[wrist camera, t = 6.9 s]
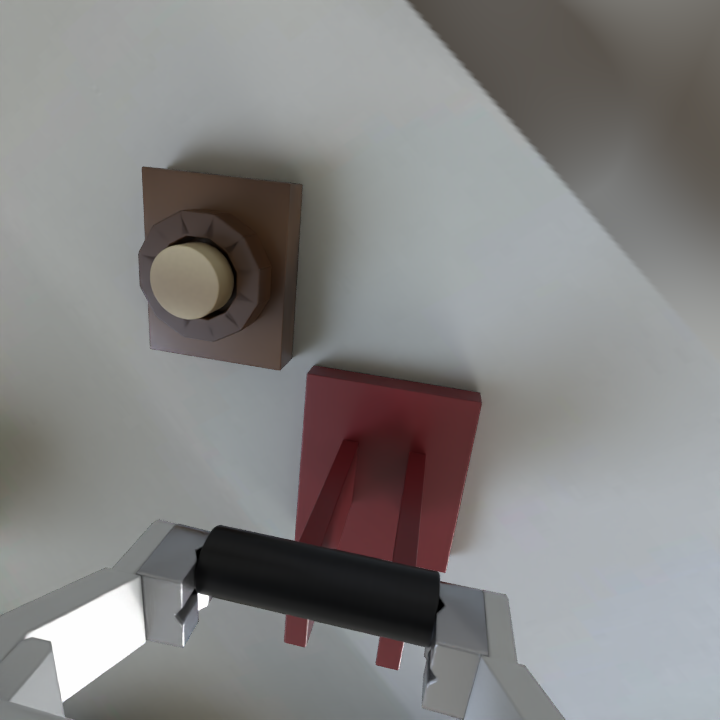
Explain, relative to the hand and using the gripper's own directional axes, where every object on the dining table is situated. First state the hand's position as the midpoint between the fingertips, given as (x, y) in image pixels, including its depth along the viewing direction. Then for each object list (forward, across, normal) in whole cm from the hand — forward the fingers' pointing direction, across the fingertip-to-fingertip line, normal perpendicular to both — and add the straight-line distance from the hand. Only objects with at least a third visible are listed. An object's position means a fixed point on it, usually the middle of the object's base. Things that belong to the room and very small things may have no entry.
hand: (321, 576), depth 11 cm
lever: (+5, 0, +3) cm, 6 cm away
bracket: (+18, 0, +8) cm, 20 cm away
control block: (+18, +10, -3) cm, 21 cm away
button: (+14, +10, -3) cm, 18 cm away
